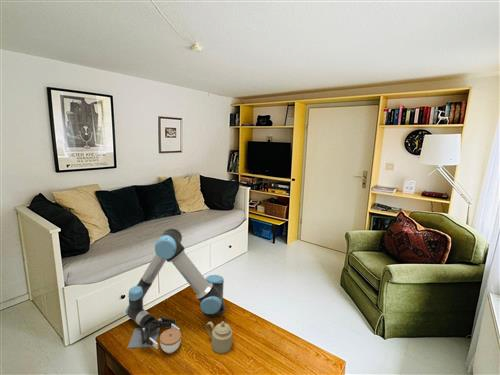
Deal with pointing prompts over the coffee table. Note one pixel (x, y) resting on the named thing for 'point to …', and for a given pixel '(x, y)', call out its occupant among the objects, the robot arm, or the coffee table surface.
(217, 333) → the beige teapot
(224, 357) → the coffee table surface
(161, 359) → the coffee table surface
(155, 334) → the slate mat
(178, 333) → the lidded jar
